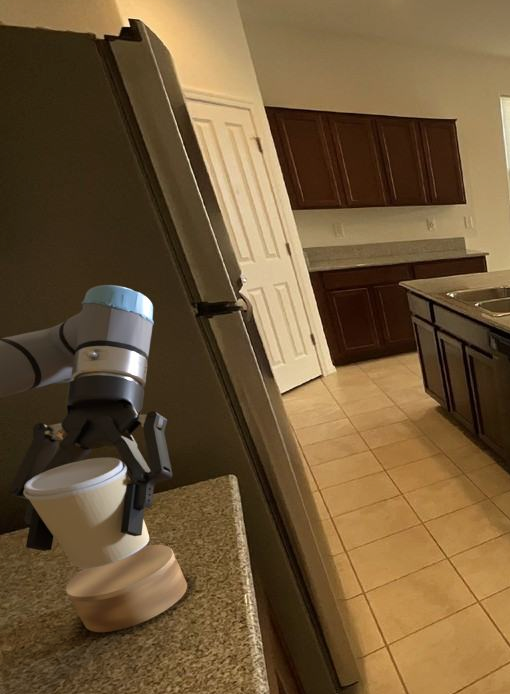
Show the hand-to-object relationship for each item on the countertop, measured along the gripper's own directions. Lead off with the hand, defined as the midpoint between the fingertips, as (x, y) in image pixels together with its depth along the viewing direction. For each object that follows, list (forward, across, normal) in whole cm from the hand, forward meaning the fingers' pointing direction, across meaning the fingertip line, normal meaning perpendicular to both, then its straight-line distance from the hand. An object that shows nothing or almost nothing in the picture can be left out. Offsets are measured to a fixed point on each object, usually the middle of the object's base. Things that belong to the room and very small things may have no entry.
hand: (85, 540), depth 67 cm
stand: (+7, 0, +11) cm, 13 cm away
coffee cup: (+1, 0, +5) cm, 5 cm away
